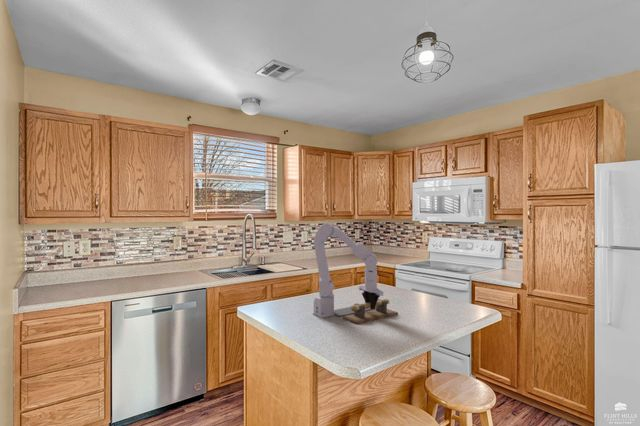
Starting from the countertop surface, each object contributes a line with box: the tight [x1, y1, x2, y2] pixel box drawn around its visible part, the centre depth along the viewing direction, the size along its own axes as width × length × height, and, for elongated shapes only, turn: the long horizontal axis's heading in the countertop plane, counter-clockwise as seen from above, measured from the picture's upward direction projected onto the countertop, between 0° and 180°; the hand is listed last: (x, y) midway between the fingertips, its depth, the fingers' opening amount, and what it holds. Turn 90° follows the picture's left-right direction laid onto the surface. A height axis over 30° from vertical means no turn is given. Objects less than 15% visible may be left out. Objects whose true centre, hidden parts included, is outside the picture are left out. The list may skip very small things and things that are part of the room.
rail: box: [350, 298, 390, 311], centre depth 161 cm, size 22×2×2 cm, turn 124°
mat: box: [334, 306, 376, 318], centre depth 170 cm, size 26×9×1 cm, turn 124°
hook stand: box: [342, 298, 399, 325], centre depth 161 cm, size 26×10×6 cm, turn 124°
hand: (370, 308), depth 161 cm, fingers closed on rail, 2 cm apart
